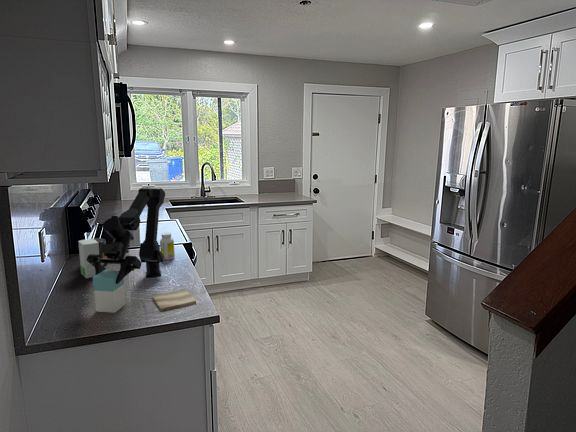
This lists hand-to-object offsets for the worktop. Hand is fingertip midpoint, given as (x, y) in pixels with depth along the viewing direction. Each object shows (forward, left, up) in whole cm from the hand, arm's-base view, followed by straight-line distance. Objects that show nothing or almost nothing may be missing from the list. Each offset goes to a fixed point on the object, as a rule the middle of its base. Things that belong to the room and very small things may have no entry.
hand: (106, 283), depth 138 cm
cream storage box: (-1, +1, -10) cm, 10 cm away
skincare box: (-41, -9, -10) cm, 43 cm away
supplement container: (-55, -8, -10) cm, 57 cm away
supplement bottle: (-53, +25, -10) cm, 60 cm away
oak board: (+1, +23, -10) cm, 25 cm away
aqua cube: (-1, +1, -4) cm, 4 cm away
